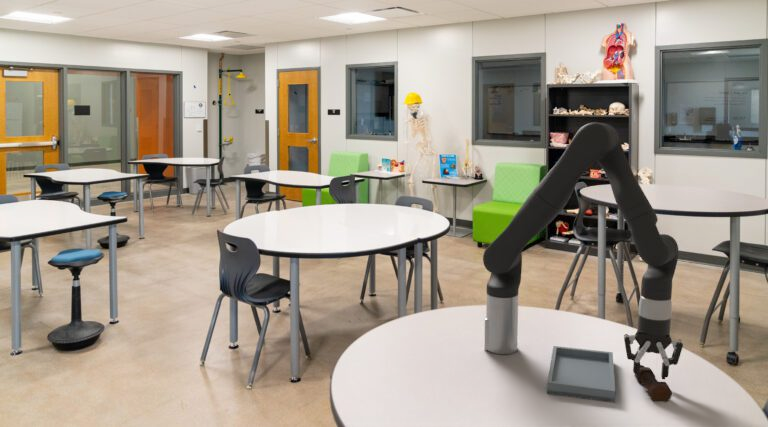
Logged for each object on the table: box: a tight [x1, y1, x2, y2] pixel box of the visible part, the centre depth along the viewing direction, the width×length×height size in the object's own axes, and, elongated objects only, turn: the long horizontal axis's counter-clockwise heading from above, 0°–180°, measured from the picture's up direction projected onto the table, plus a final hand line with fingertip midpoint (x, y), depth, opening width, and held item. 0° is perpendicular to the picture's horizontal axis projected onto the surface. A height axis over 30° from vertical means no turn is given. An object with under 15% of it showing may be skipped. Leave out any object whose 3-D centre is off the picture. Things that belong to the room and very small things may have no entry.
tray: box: [546, 345, 616, 403], centre depth 159 cm, size 16×24×3 cm, turn 161°
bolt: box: [632, 364, 673, 403], centre depth 153 cm, size 6×5×15 cm
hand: (650, 376), depth 153 cm, fingers open, 5 cm apart
